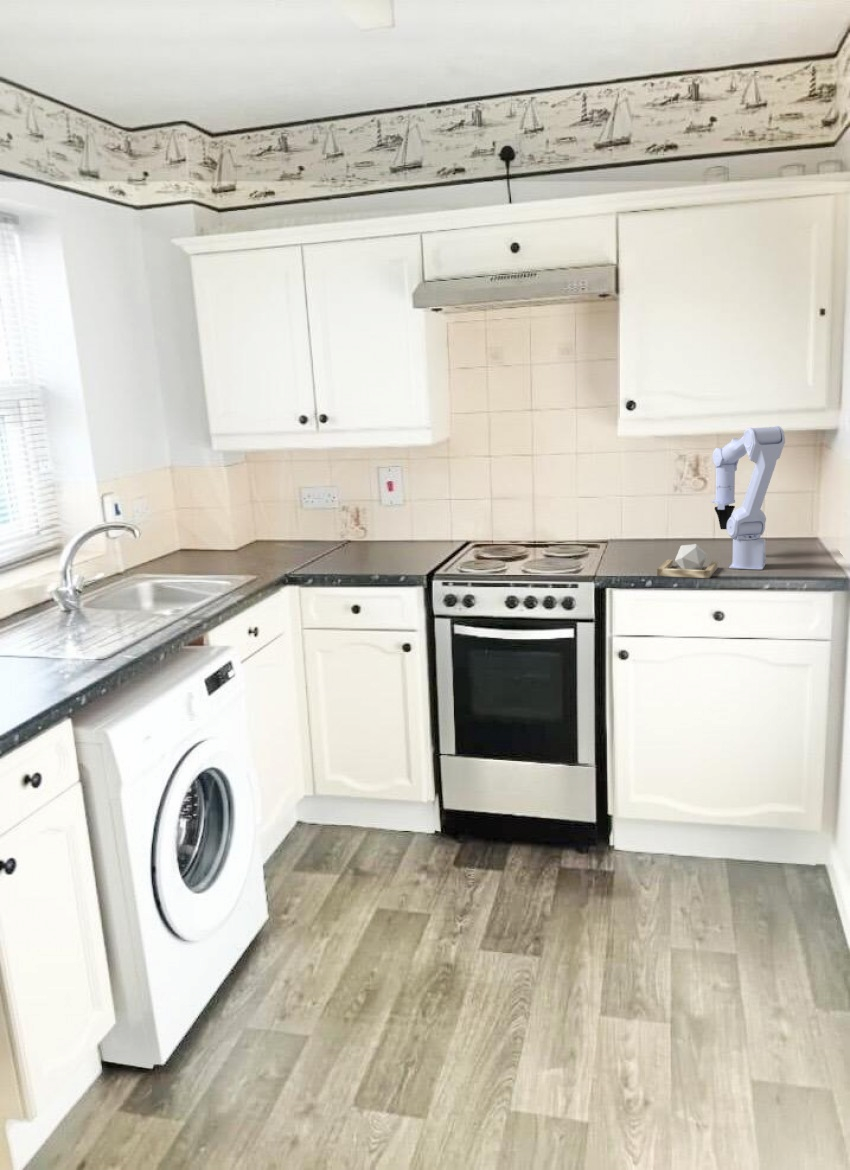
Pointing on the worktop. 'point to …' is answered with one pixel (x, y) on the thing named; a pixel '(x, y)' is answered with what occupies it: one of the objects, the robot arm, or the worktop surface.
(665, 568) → the corral
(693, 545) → the die
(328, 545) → the worktop surface
